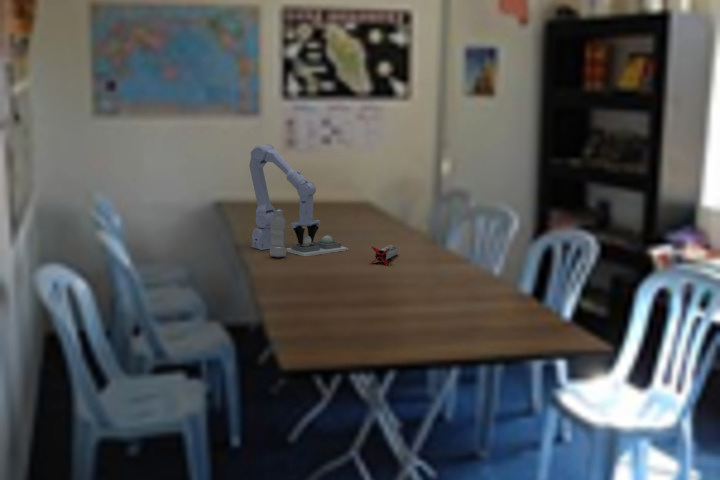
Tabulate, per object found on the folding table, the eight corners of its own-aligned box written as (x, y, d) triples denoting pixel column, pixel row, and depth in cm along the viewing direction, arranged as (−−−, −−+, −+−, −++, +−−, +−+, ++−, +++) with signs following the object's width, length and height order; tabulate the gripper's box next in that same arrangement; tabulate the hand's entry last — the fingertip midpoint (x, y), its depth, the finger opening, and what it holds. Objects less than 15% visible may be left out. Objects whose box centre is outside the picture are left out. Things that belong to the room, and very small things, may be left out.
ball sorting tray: (304, 256, 356) (304, 249, 356) (284, 250, 367) (284, 243, 366) (348, 250, 372) (348, 243, 372) (327, 244, 382) (327, 238, 382)
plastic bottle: (283, 259, 350) (284, 210, 346) (267, 258, 351) (268, 209, 347) (287, 256, 356) (288, 208, 352) (272, 255, 357) (272, 207, 353)
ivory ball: (304, 248, 362) (304, 236, 361) (297, 246, 365) (297, 234, 364) (313, 246, 365) (314, 235, 364) (306, 244, 368) (306, 233, 367)
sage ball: (326, 248, 370) (326, 236, 369) (319, 246, 373) (319, 235, 372) (335, 247, 373) (335, 235, 372) (327, 245, 377) (328, 234, 376)
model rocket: (410, 251, 365) (395, 233, 366) (397, 258, 343) (381, 238, 344) (391, 266, 368) (376, 248, 369) (376, 274, 346) (361, 254, 347)
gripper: (298, 214, 354) (297, 246, 357) (325, 211, 364) (324, 242, 367) (288, 211, 360) (287, 243, 362) (315, 209, 369) (314, 240, 372)
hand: (305, 243), depth 365 cm, fingers closed on ivory ball, 5 cm apart
